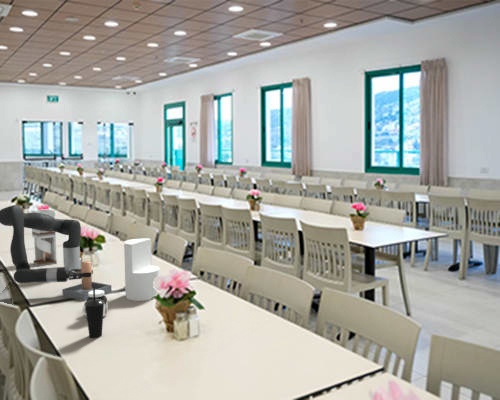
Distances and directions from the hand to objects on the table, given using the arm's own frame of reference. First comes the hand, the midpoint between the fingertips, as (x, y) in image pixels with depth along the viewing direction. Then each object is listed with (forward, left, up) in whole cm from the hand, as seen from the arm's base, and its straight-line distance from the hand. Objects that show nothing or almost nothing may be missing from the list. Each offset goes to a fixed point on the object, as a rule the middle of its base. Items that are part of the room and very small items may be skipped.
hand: (91, 273), depth 256 cm
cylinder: (-10, +25, -11) cm, 29 cm away
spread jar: (+25, +28, -11) cm, 39 cm away
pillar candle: (+2, -2, -8) cm, 8 cm away
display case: (-32, -79, -11) cm, 86 cm away
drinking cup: (+41, +46, -11) cm, 62 cm away
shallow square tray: (+2, -2, -11) cm, 11 cm away
